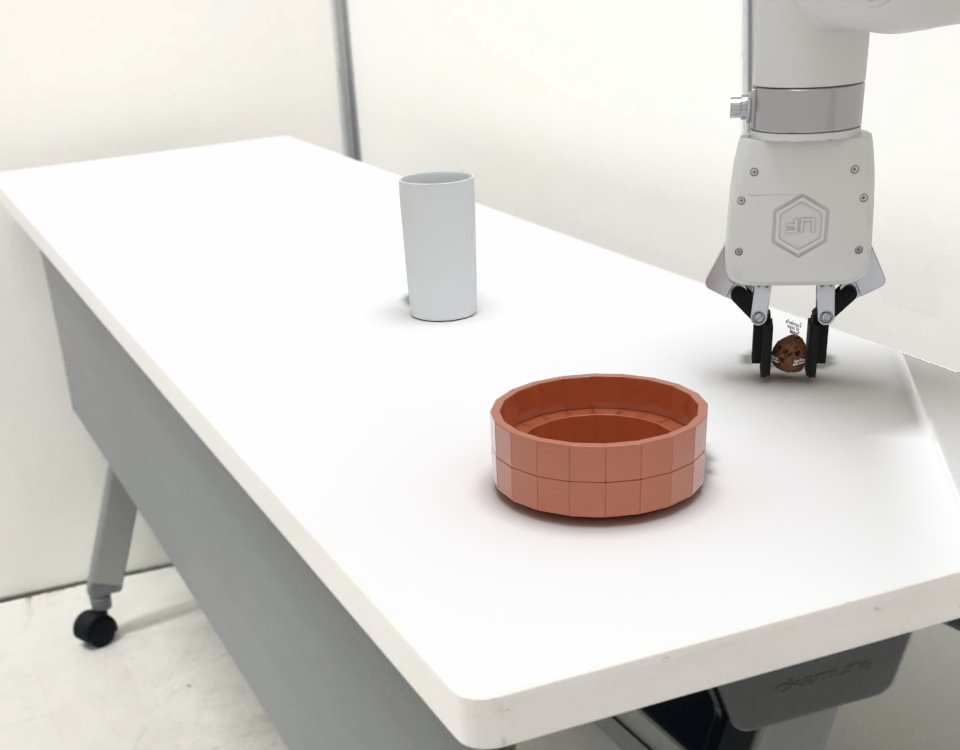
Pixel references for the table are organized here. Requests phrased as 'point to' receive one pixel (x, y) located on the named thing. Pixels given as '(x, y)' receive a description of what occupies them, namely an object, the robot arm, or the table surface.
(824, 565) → the table surface
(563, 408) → the bowl
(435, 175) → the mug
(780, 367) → the chocolate
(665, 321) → the table surface
